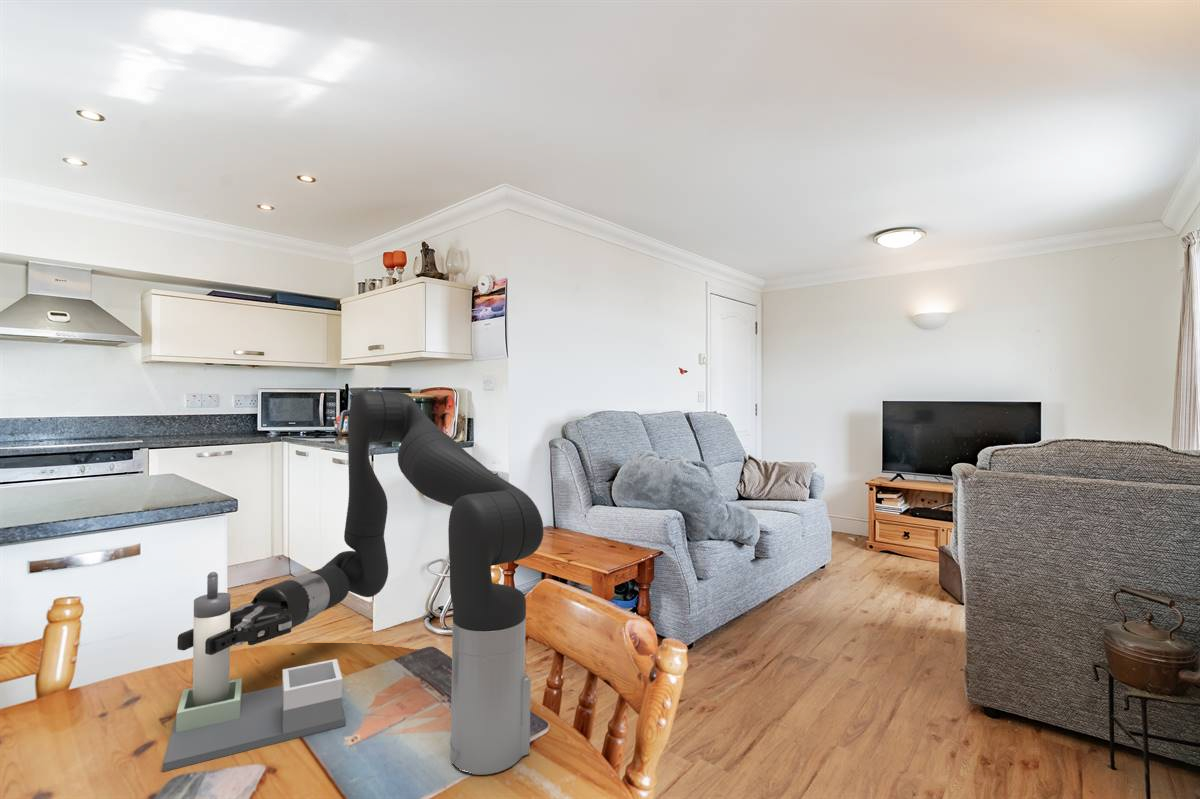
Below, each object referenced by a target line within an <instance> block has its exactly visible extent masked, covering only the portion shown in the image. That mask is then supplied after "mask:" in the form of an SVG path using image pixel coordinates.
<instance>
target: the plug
mask: <svg viewBox="0 0 1200 799" xmlns="http://www.w3.org/2000/svg"><path fill="white" fill-rule="evenodd" d="M206 580H207V582H206V584H207V586H206V588H207V590H206V592H207V593H206V594H204V595H201V596H200V595H199V596H198V597H196V598H195V599H194V600H193V628H194V633H193V647H192V648H193V650H192V655H193V656H192V688H193V705H195V706H202V705H207V704H212V703H217V702H221V701H223V700H225V699H226V698H227V697H228V696H229V681H230V680H231V679H230V678H231V677H230V673H231V672H230V669H231V668H230V666H231V664H230V663H231V662H230V659H231V657H230V656H231V646H230V647H228V648H226V649H224V650H221V651H219V652H217V653H215V654H213V655H208V654H206V653H205V642H206V640H207V639H208V638H209V637H211V636H214V635H216V634H218V633H221V632H223V631H226V630H228V629H230V610H231V594H230V593H229V592H228V593H227V592H218V591H219V586H218V585H219V574H218V573H217V571H211V572H210V573H208V575H207V579H206Z"/></svg>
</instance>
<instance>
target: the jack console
mask: <svg viewBox="0 0 1200 799" xmlns="http://www.w3.org/2000/svg"><path fill="white" fill-rule="evenodd" d="M281 673H282V676H281V677H282V678H281V680H282V681H281V683H282V684H280V685H278V686H273V687H268V688H264V689H259V690H254V691H250V692H249V691H248V692H244V693H242V692H243V691H242V690H243V678H237V679H232V680H231V679H230V681H229V696H228V697H227V698H226V699H225V700H223V701H221V702H217V703H212V704H207V705H202V706H195V705H193V687H191V688H185V689H183V690H182V693H181V696H180V700H179V703H178V707H177V711H176V717H175V720H174V722H173V727H172V731H171V733H170V737H169V741H168V744H167V748H166V750H165V751H166V752H165V754H164V758H163V761H162V772H163V773H164V772H167V771H172V770H175V769H179V768H185V767H187V766H192V765H195V764H199V763H203V762H207V761H211V760H216V759H219V758H223V757H227V756H231V755H235V754H239V753H242V752H247V751H251V750H255V749H258V748H263V747H266V746H270V745H273V744H279V743H282V742H286V741H291V740H294V739H298V738H302V737H305V736H310V735H314V734H318V733H321V732H325V731H330V730H333V729H337V728H341V727H345V726H346V720H347V719H346V714H345V710H344V707H343V677H342V676H343V675H342V672H341V668H340V665H339V660H338V658H334V659H330V660H325V661H319V662H314V663H309V664H303V665H298V666H294V667H289V668H283V669H282V672H281Z"/></svg>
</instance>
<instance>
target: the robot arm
mask: <svg viewBox="0 0 1200 799" xmlns="http://www.w3.org/2000/svg"><path fill="white" fill-rule="evenodd" d="M350 402H351V403H350V406H349V413H348V423H347V427H348V429H347V435H348V436H347V438H348V443H347V444H348V450H347V451H348V455H347V456H348V463H347V464H348V502H347V511H346V519H345V527H344V535H343V539H344V542H345V544H346V545H347V546H348V547H349V548H350V549H352V550H347V551H342V552H340V553H338V554H336V555H335V556H334V557H333V558H332V559H330V561H328V562H327V563H325V565H323V566H322V567H321V568H319V569H316V570H313V571H311V572H308V573H304V574H300V575H296V576H293V577H291V578H288V579H285V580H283V581H280V582H277V583H275V584H272V585H270V586H267V587H265V588H262V589H260V591H258V592H257V593H256V595H255V596H254V597H253V599H252V601H251V602H250V603H245V604H242V605H240V606H238V607H237V608H234V609H230V629H228V630H226V631H223V632H221V633H218V634H216V635H214V636H211V637H209V638H208V639H207V640H206V642H205V653H206V654H208V655H213V654H215V653H217V652H219V651H221V650H224V649H226V648H228V647H230V648H231V647H232V646H241V645H244V644H245V643H246V642H247V645H248V646H255V645H258V644H261V643H263V642H266V641H269V640H272V639H275V638H278V637H281V636H284V635H287V634H290V633H291V632H292V629H293V628H296V627H297V626H300V625H301V624H304V623H305V622H308V621H310V620H312V619H313V618H315V617H316V616H317V615H319V614H320V613H322V612H324V611H327V610H329V609H331V608H333V607H335V606H336V605H339V604H340V603H341V602H342V601H344V600H345V599H346V597H347V596H348V594H349V592H350V593H353V594H354V595H357V596H360V597H364V598H372V597H374V596H376V595H377V594H379V593H380V592H381V591H382V590H383V588H384V587H385V585H386V583H387V580H388V576H389V562H388V555H387V548H386V541H385V529H386V522H387V516H388V508H389V507H388V499H387V495H386V492H385V490H384V488H383V487H382V485H381V482H380V481H379V479H378V478H377V475H376V474H375V473H376V472H374V468H373V467H372V464H371V460H370V454H369V453H370V443H391V442H393V443H401V444H400V446H399V447H398V448H399V449H398V452H397V464H398V468H399V470H400V472H401V473H402V475H403V476H404V477H405V479H407V481H408V482H409V483H410V485H412V487H414V488H415V490H416V491H417V492H419V493H420V494H422V495H423V496H424V497H426V498H429V499H431V500H433V501H435V502H438V503H441V504H443V505H446V506H449V507H451V510H450V513H449V518H448V528H447V529H448V531H447V532H448V556H449V557H448V558H449V559H448V560H449V590H450V592H449V593H450V597H451V606H452V634H451V635H452V636H451V639H452V641H451V644H452V645H451V647H452V649H451V693H450V694H451V695H450V696H451V697H450V706H451V707H450V739H449V746H450V754H449V755H450V756H449V757H450V761H452V762H453V763H452V762H451V763H452V765H453V764H454V765H455V766H456V767H457V768H456V767H455V766H454V765H453V766H454V767H455V768H456V769H458V768H459V769H461V770H465V771H468V772H471V773H472V774H471V775H477V776H478V775H479V776H481V775H492V774H496V773H500V772H502V771H505V770H507V769H509V768H511V767H513V766H514V765H515V764H517V763H518V762H519V760H520V759H522V758H523V757H524V756H527V755H529V754H530V752H531V751H530V744H531V740H530V739H531V699H532V698H531V695H532V694H531V693H532V692H531V691H532V690H531V688H532V686H531V685H532V684H531V683H532V682H531V681H532V680H531V678H530V677H529V675H527V672H526V621H527V617H526V616H527V599H526V596H525V594H524V593H523V592H522V591H521V590H519V589H518V588H516V587H513V586H510V585H507V584H500V583H494V582H493V578H492V566H498V565H503V564H507V563H508V564H509V563H512V562H513V563H514V562H516V561H520V560H523V559H525V558H527V557H529V556H531V555H533V554H534V553H535V552H536V551H537V550H538V549H539V547H540V546H541V545H542V542H543V537H544V522H543V518H542V515H541V512H540V511H539V508H538V506H537V505H536V504H535V502H534V501H533V499H532V497H530V496H529V495H528V494H527V493H526V492H524V491H523V490H522V489H520V488H519V487H517V486H515V485H513V483H510V482H508V481H507V480H505V479H503V477H500V476H499V475H497V474H495V473H494V472H493V471H492V470H490V469H488V468H487V467H486V466H485V465H484V464H482V463H481V462H480V461H478V459H476V458H475V457H474V456H472V455H471V454H470V453H469V452H467V451H466V450H465V449H464V448H463V447H462V446H461V444H459V443H458V442H457V441H456V440H454V438H452V437H451V436H449V435H448V434H447V433H446V432H445V431H443V430H442V429H441V428H440V427H439V426H438V425H437V424H435V422H434V421H432V419H430V417H428V415H427V414H426V413H425V412H424V411H423V409H422V407H421V406H420V404H418V402H416V400H414V398H413V397H412V396H410V395H409V394H407V393H403V392H399V391H398V392H396V391H380V390H379V391H378V390H362V391H358V392H357V393H356V394H355V395H354V396H353V397H352V399H351V401H350ZM193 633H194V627H193V628H191V629H189V630H187V631H184V632H182V633H179V635H178V636H177V645H176V647H177V650H178V651H187V650H188V649H191V648H193ZM459 769H458V770H459ZM461 770H460V771H461Z"/></svg>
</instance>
